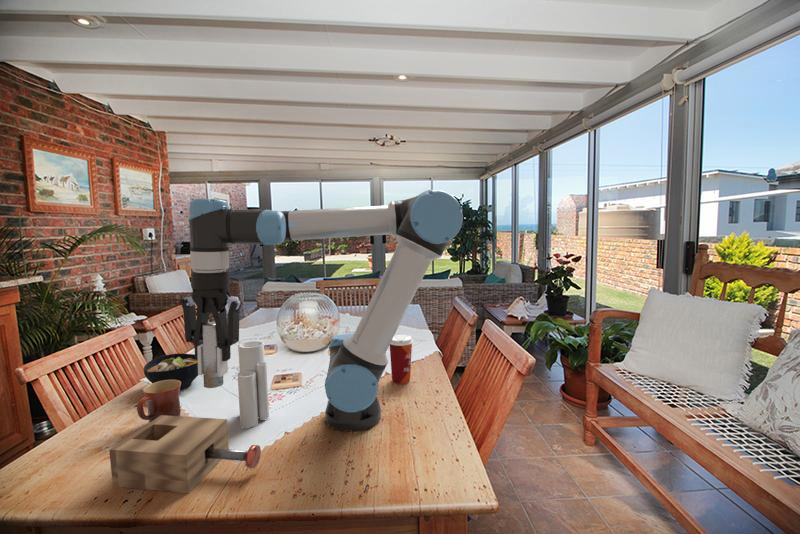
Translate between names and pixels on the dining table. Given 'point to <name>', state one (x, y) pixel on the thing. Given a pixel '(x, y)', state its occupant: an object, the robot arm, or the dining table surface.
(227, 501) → the dining table surface
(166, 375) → the bowl
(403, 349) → the coffee cup
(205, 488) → the dining table surface
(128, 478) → the dock
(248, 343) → the vase
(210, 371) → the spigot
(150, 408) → the mug
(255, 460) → the lock pin
